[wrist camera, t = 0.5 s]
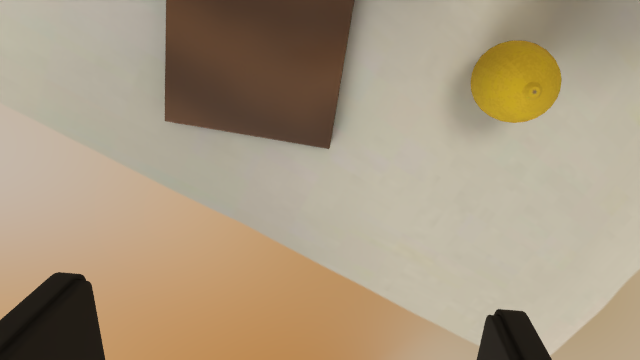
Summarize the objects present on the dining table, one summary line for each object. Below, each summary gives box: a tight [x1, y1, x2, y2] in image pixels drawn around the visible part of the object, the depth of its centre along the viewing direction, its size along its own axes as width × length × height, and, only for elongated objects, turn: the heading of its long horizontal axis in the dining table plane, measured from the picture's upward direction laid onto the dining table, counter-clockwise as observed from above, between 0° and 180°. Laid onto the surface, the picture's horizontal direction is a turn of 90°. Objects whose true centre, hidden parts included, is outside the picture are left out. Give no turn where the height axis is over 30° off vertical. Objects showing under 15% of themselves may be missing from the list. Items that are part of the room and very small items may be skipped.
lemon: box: [471, 41, 561, 123], centre depth 31 cm, size 6×6×8 cm
